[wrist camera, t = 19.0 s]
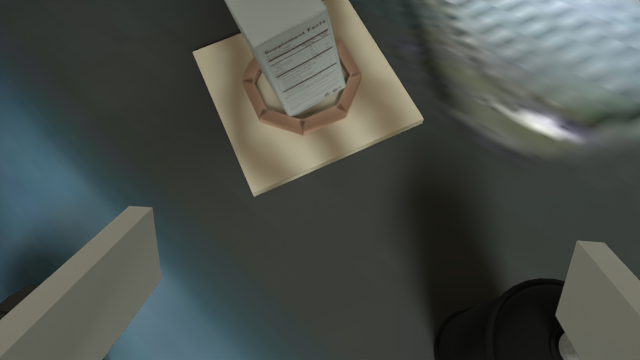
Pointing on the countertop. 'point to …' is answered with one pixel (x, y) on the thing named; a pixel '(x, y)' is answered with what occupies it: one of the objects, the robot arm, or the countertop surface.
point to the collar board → (317, 121)
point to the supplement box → (292, 48)
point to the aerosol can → (509, 327)
